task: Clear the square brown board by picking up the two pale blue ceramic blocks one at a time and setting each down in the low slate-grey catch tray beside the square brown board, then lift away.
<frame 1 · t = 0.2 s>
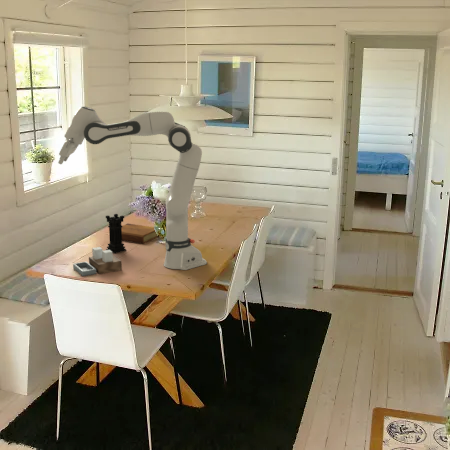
hand: (62, 162, 288), 54 cm above the table, tool tilted 30°, fingers open, 8 cm apart
tile far: (97, 257, 300), point 5 cm above the table, touching square brown board
catch tray: (84, 271, 295), on the table
chess piece: (116, 251, 328), on the table
tile near: (107, 260, 295), point 5 cm above the table, touching square brown board
square brown board: (105, 268, 299), on the table
diary: (135, 238, 354), on the table
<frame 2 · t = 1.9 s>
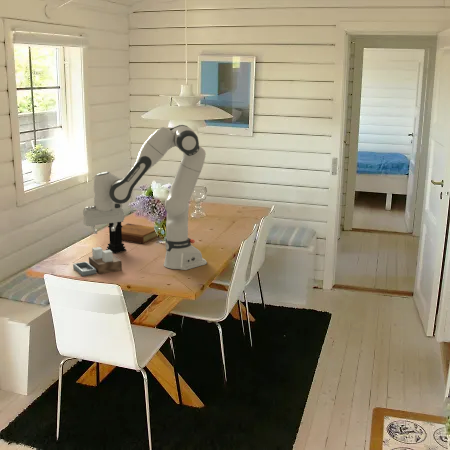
hand: (104, 232, 291), 20 cm above the table, tool pointing down, fingers open, 8 cm apart
nothing on the table moved.
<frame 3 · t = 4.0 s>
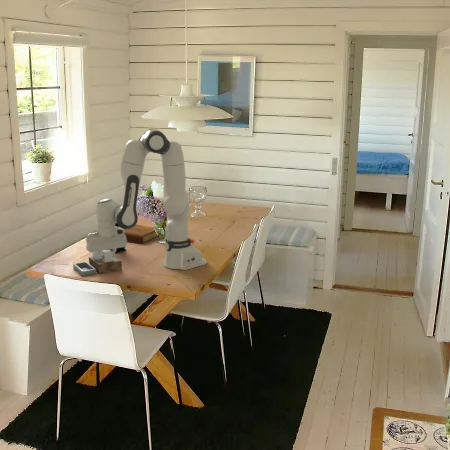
hand: (107, 257, 295), 7 cm above the table, tool pointing down, fingers closed on tile near, 4 cm apart
tile near: (107, 260, 295), point 5 cm above the table, touching square brown board, gripper
everything else where it was.
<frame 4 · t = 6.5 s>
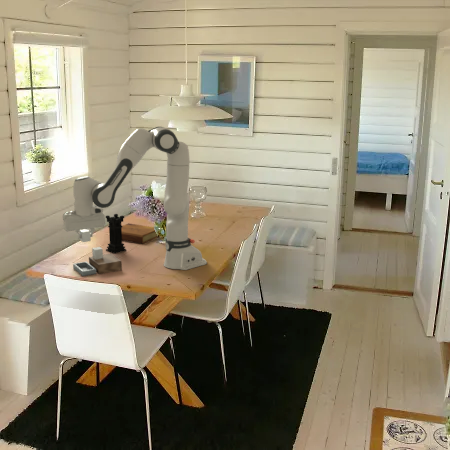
hand: (85, 237, 287), 18 cm above the table, tool pointing down, fingers closed on tile near, 4 cm apart
tile near: (85, 240, 288), point 17 cm above the table, touching gripper
everything else where it was.
when the fingers open (5 cm above the table, at t = 9.2 s): tile near drops 3 cm, resting on catch tray.
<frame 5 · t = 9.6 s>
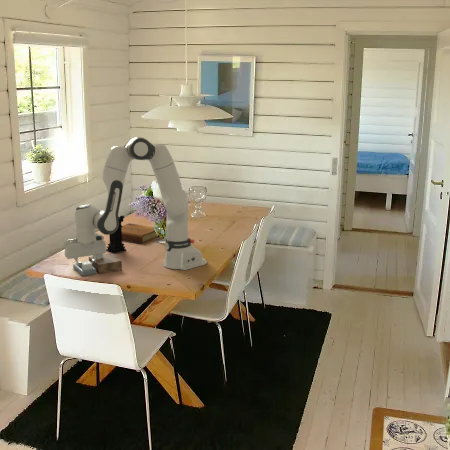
hand: (86, 264, 291), 5 cm above the table, tool pointing down, fingers open, 6 cm apart
tile near: (87, 272, 292), resting on catch tray
everything else where it was.
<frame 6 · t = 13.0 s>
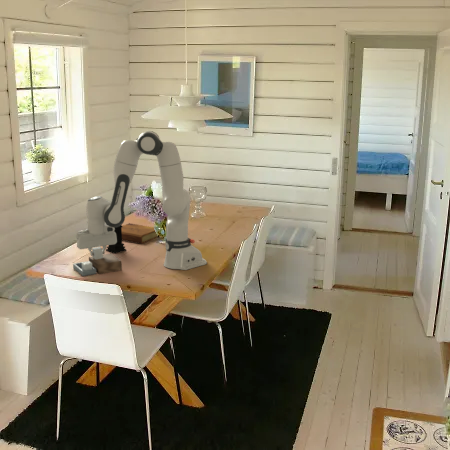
hand: (97, 254, 299), 7 cm above the table, tool pointing down, fingers closed on tile far, 4 cm apart
tile far: (97, 257, 300), point 5 cm above the table, touching square brown board, gripper
everything else where it was.
when the fingers open (5 cm above the table, at t = 18.1 s): tile far drops 3 cm, resting on catch tray.
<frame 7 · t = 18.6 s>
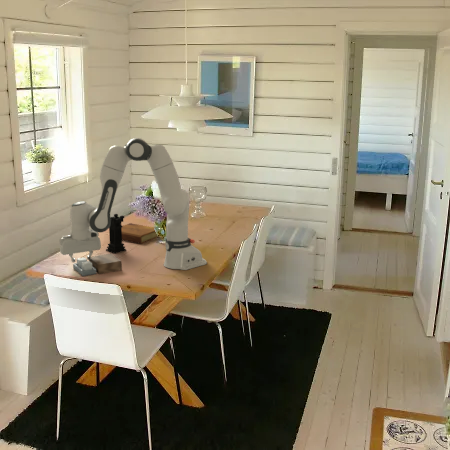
hand: (81, 260, 296), 5 cm above the table, tool pointing down, fingers open, 7 cm apart
tile far: (82, 268, 298), resting on catch tray
everything else where it was.
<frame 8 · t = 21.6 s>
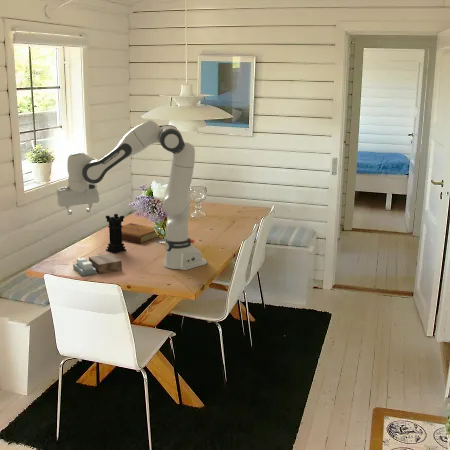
hand: (79, 213, 290), 29 cm above the table, tool pointing down, fingers open, 8 cm apart
nothing on the table moved.
at the end: tile near inside the target area (3.5 cm from its centre), resting on catch tray; tile far inside the target area (3.5 cm from its centre), resting on catch tray; the gripper is holding nothing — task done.
